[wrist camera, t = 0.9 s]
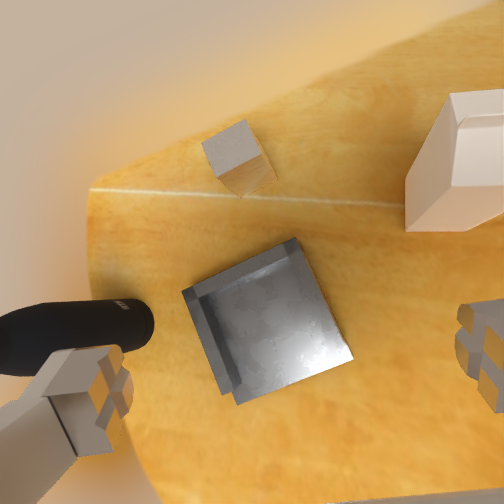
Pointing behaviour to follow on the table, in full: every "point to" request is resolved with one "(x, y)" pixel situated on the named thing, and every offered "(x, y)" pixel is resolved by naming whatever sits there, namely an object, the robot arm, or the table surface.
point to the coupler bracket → (266, 323)
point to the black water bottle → (70, 330)
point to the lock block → (239, 159)
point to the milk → (459, 166)
